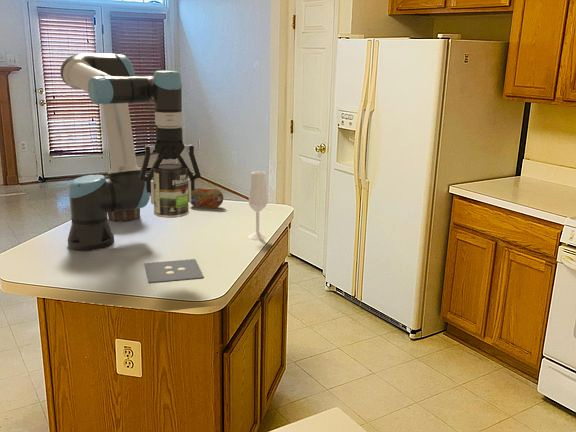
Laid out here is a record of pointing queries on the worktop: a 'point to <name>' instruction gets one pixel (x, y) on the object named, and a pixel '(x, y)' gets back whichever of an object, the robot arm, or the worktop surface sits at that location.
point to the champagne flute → (257, 199)
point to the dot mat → (173, 270)
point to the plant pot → (124, 214)
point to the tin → (206, 197)
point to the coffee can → (170, 190)
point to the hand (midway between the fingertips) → (171, 202)
